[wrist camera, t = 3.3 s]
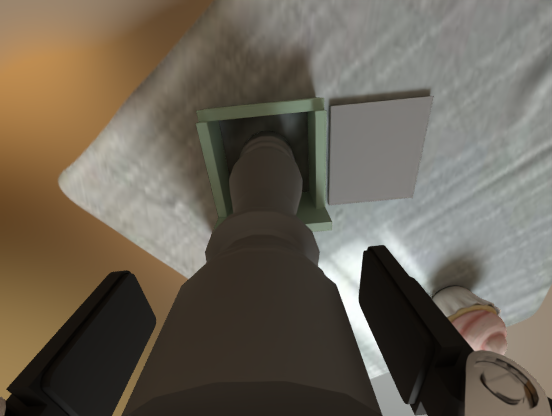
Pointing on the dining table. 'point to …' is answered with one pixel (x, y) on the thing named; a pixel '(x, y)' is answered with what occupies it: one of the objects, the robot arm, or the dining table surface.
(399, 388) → the robot arm
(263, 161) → the candle holder
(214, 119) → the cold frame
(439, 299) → the cupcake
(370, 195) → the slate mat
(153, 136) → the dining table surface
